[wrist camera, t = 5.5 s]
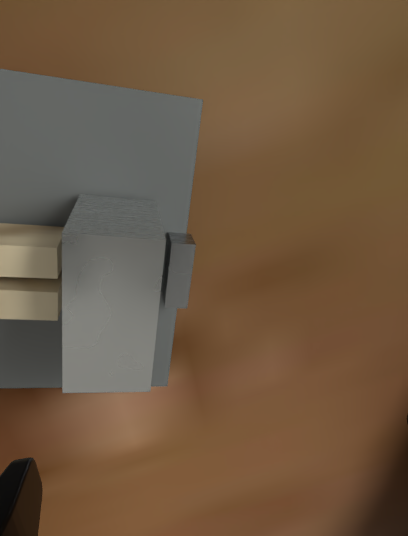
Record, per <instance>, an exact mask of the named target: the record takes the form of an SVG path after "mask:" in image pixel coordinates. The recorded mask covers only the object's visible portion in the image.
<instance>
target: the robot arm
mask: <svg viewBox="0 0 408 536" xmlns="http://www.w3.org/2000/svg"><path fill="white" fill-rule="evenodd" d="M407 423H408V415H407ZM41 501H42V482H41V479H40V475H39V472H38V469H37V465H36V462H35V460H34V459H33V458H24V459H18V460H14V461H13V462H11V463H10V464H9V466H8V467H7V468H6V469H5V470H4V472H3V473H2V474H1V475H0V536H38V529H39V520H40V510H41Z"/></svg>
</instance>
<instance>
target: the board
mask: <svg viewBox="0 0 408 536" xmlns="http://www.w3.org/2000/svg"><path fill="white" fill-rule="evenodd" d="M202 104H203V100H202V99H195V98H189V97H182V96H175V95H169V94H162V93H156V92H149V91H143V90H136V89H130V88H123V87H116V86H110V85H103V84H97V83H90V82H84V81H77V80H70V79H64V78H57V77H51V76H44V75H38V74H31V73H25V72H18V71H11V70H5V69H0V223H8V224H24V225H40V226H56V227H65V225H66V223H67V221H68V219H69V217H70V215H71V212H72V210H73V208H74V206H75V204H76V202H77V200H78V198H79V196H80V194H83V195H93V196H104V197H115V198H126V199H137V200H148V201H156V204H157V208H158V212H159V216H160V219H161V223H162V227H163V231H164V234H165V238H166V245H165V255H164V265H163V274H162V284H161V293H160V303H159V312H158V322H157V332H156V341H155V351H154V360H153V370H152V379H151V386H167V384H168V376H169V368H170V360H171V352H172V344H173V336H174V328H175V320H176V312H177V308H164V302H163V296H162V288H163V278H164V269H165V259H166V250H167V241H168V232H172V233H186V232H187V224H188V216H189V208H190V200H191V192H192V184H193V176H194V168H195V160H196V152H197V144H198V136H199V128H200V120H201V112H202ZM0 388H62V308H61V312H60V315H59V318H58V321H51V320H19V319H0Z"/></svg>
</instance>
